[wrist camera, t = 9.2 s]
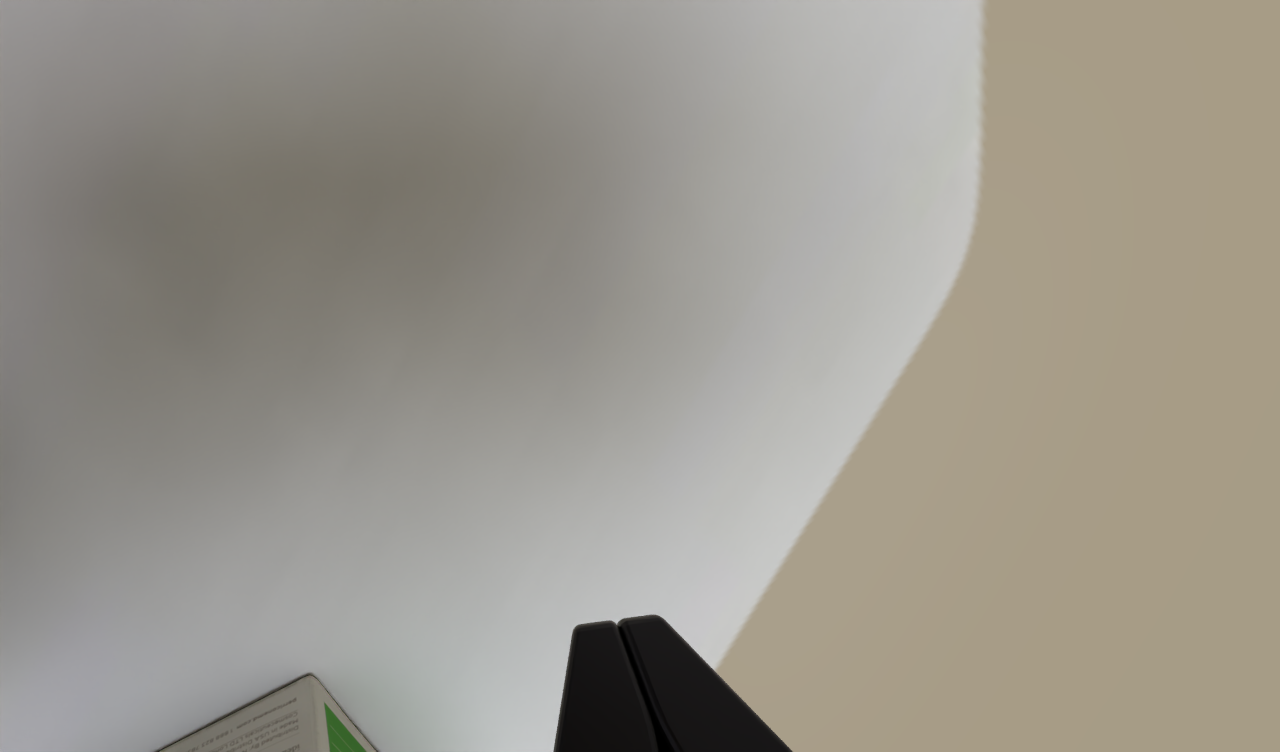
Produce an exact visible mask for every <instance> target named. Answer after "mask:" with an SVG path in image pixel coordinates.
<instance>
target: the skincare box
mask: <svg viewBox="0 0 1280 752" xmlns="http://www.w3.org/2000/svg"><path fill="white" fill-rule="evenodd" d="M159 752H376V751H375V750H374V748H373V747H372V746H371V745H370V744H369V743H368V741H367V740H366V739H365V738H364V737H363V736H362V734H361V733H360V732H359V731H358V730H357V729H356V727H355V726H354V725H353V724H352V722H351V721H350V720H349V719H348V718H347V716H346V715H345V714H344V713H343V711H342V710H341V709H340V708H339V706H338V705H337V704H336V702H335V701H334V700H333V699H332V697H331V696H330V695H329V694H328V692H327V691H326V690H325V688H324V687H323V686H322V685H321V684H320V682H319V681H318V680H317V679H316V678H314V677H313V676H310V675H309V676H306V677H304V678H302V679H300V680H298V681H296V682H294V683H292V684H290V685H288V686H287V687H285V688H283V689H281V690H279V691H277V692H275V693H273V694H271V695H269V696H267V697H265V698H263V699H261V700H259V701H257V702H255V703H253V704H251V705H249V706H248V707H246V708H244V709H242V710H240V711H238V712H236V713H234V714H232V715H230V716H228V717H226V718H224V719H222V720H220V721H218V722H216V723H214V724H212V725H210V726H208V727H206V728H204V729H202V730H200V731H199V732H197V733H195V734H193V735H191V736H189V737H187V738H185V739H183V740H181V741H179V742H177V743H175V744H173V745H171V746H169V747H167V748H165V749H163V750H161V751H159Z"/></svg>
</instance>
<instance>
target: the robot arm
mask: <svg viewBox="0 0 1280 752" xmlns="http://www.w3.org/2000/svg"><path fill="white" fill-rule="evenodd" d="M553 752H792V750H790V748H789V747H787V745H786V744H785V743H784V742H783V741H782V740H781V739H780V738H779V737H778V736H777V735H776V734H775V733H774V732H773V731H772V730H771V729H770V728H769V727H768V726H767V725H766V724H765V723H764V722H763V721H762V720H761V719H760V718H759V716H758V715H756V713H755V712H754V711H753V710H752V709H751V708H750V707H749V706H748V705H747V704H746V703H745V702H744V701H743V700H742V699H741V698H740V697H739V696H738V695H737V694H736V693H735V692H734V691H733V690H732V689H731V688H730V687H729V686H728V685H727V683H725V681H724V680H723V679H722V678H721V677H720V676H719V675H718V674H717V673H716V672H715V671H714V670H713V669H712V668H711V667H710V666H709V665H708V664H707V663H706V662H705V661H704V660H703V659H702V658H701V657H700V656H699V655H698V654H697V653H696V652H695V650H694V649H693V648H692V647H691V646H690V645H689V644H688V643H687V642H686V641H685V640H684V639H683V638H682V637H681V636H680V635H679V634H678V633H677V632H676V631H675V630H674V629H673V628H672V627H671V626H670V625H669V624H668V623H667V622H666V621H665V620H664V619H663V618H662V617H660V616H658V615H645V616H638V617H631V618H624V619H622V620H620V621H619V622H618V624H617V625H616V623H615V622H613V621H601V622H594V623H586V624H580V625H577V626H576V627H575V628H574V630H573V633H572V639H571V645H570V651H569V658H568V664H567V670H566V676H565V683H564V689H563V695H562V701H561V708H560V714H559V720H558V726H557V733H556V739H555V745H554V751H553Z"/></svg>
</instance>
